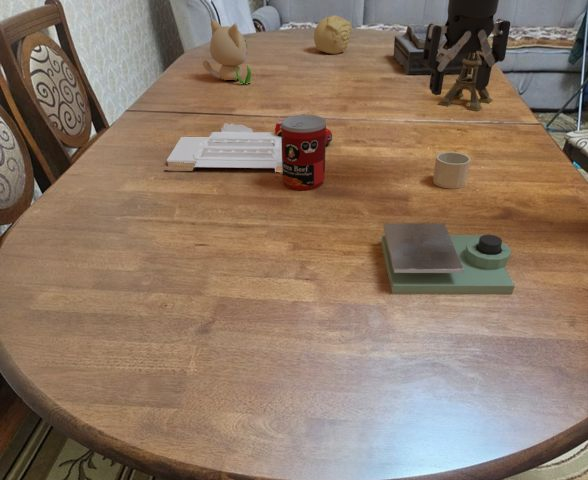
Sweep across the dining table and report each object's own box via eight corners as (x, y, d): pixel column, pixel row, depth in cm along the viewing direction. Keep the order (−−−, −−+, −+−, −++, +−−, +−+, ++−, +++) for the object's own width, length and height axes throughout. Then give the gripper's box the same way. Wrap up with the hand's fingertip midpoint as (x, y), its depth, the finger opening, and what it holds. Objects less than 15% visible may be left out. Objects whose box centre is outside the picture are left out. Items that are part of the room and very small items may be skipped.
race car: (336, 141, 117) (337, 122, 115) (324, 149, 114) (324, 129, 111) (285, 130, 123) (285, 111, 120) (271, 137, 119) (271, 118, 117)
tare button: (496, 245, 78) (498, 234, 76) (501, 256, 75) (504, 244, 74) (474, 245, 78) (477, 234, 76) (479, 256, 75) (482, 244, 74)
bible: (464, 55, 179) (470, 21, 172) (473, 77, 158) (480, 38, 152) (392, 54, 182) (396, 20, 175) (392, 74, 161) (395, 37, 155)
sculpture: (339, 57, 179) (341, 19, 172) (307, 53, 184) (308, 16, 177) (355, 50, 186) (357, 14, 180) (324, 47, 191) (325, 11, 184)
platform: (443, 226, 81) (444, 222, 81) (462, 273, 71) (463, 269, 71) (383, 226, 81) (383, 223, 81) (393, 273, 71) (394, 269, 71)
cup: (462, 175, 103) (466, 151, 100) (469, 188, 99) (474, 164, 96) (430, 175, 103) (433, 152, 101) (435, 188, 99) (439, 164, 96)
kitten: (262, 81, 157) (260, 21, 147) (236, 88, 151) (232, 26, 142) (228, 72, 165) (223, 15, 155) (202, 79, 159) (196, 20, 150)
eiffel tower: (492, 100, 140) (517, -16, 124) (478, 111, 134) (502, -11, 118) (453, 94, 145) (472, -19, 129) (437, 104, 138) (455, -14, 122)
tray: (307, 173, 105) (306, 154, 103) (164, 176, 107) (160, 158, 104) (310, 137, 121) (309, 119, 118) (185, 140, 123) (182, 123, 120)
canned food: (274, 185, 101) (272, 123, 94) (298, 171, 106) (297, 111, 99) (309, 194, 97) (309, 131, 90) (332, 179, 103) (334, 118, 95)
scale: (492, 243, 83) (496, 225, 81) (519, 294, 73) (525, 275, 71) (380, 243, 84) (382, 225, 82) (391, 294, 73) (394, 275, 71)
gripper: (448, -17, 79) (431, 102, 90) (532, -21, 82) (506, 93, 93) (423, -22, 85) (410, 90, 95) (503, -27, 88) (482, 82, 98)
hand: (458, 91), depth 94 cm, fingers open, 8 cm apart
